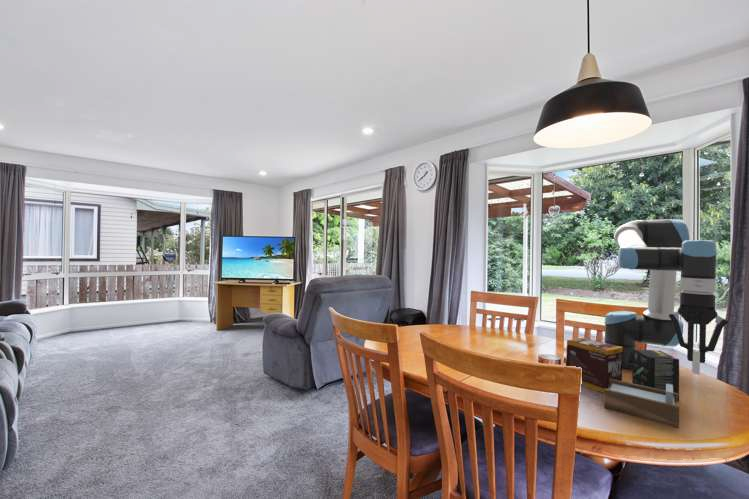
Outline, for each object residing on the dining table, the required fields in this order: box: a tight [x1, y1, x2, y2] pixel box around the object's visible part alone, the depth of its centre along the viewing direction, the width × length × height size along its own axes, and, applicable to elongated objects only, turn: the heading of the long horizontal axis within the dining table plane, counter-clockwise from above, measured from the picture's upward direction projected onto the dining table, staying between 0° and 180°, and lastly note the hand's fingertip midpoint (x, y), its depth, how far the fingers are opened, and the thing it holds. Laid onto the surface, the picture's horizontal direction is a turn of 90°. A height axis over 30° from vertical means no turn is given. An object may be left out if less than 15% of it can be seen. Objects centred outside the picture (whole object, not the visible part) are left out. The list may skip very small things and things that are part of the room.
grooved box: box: [603, 379, 680, 429], centre depth 110 cm, size 13×18×6 cm
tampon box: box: [631, 348, 680, 403], centre depth 122 cm, size 11×9×15 cm
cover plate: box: [610, 383, 674, 404], centre depth 110 cm, size 10×16×5 cm, turn 50°
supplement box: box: [565, 337, 623, 394], centre depth 131 cm, size 10×15×16 cm
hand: (695, 372), depth 101 cm, fingers closed
